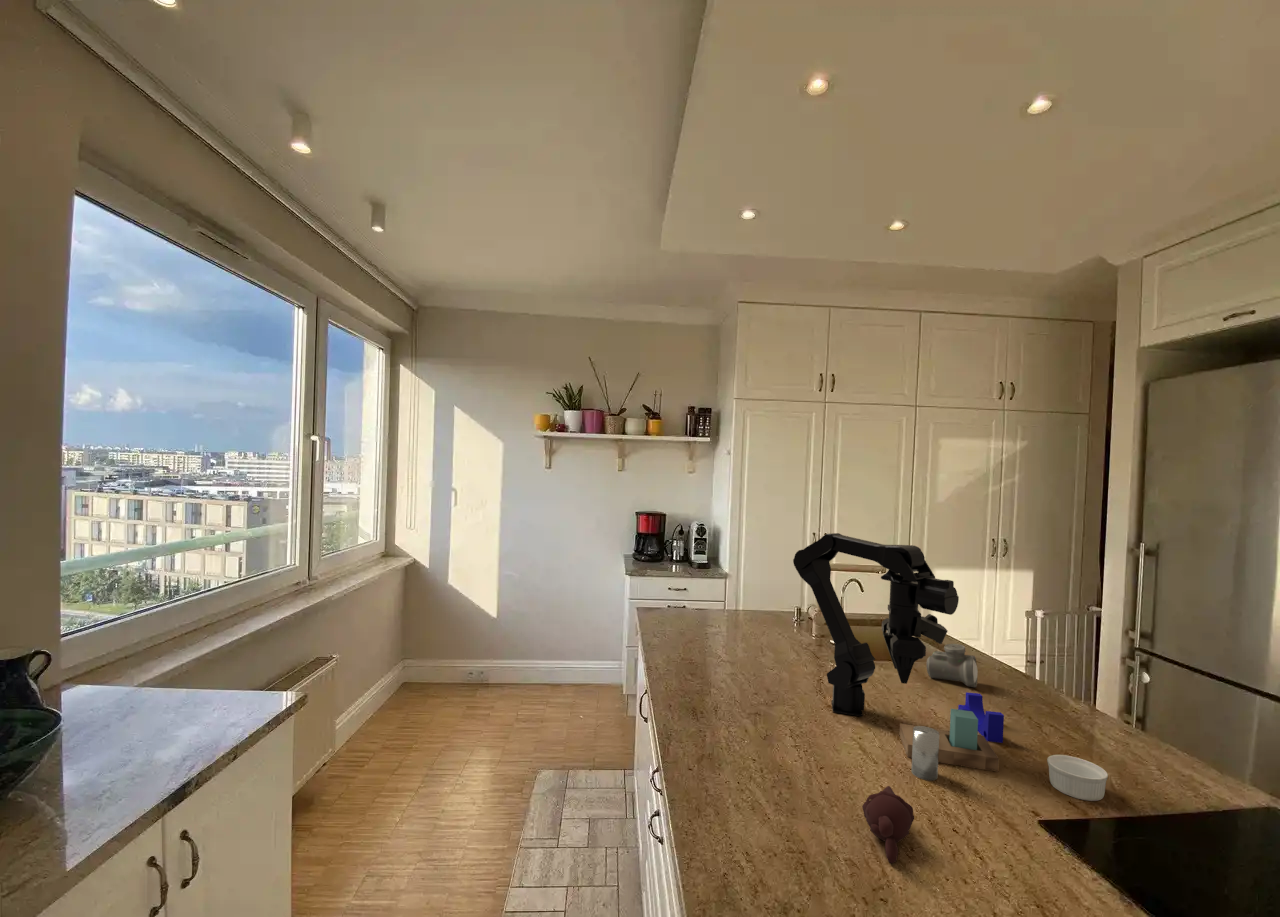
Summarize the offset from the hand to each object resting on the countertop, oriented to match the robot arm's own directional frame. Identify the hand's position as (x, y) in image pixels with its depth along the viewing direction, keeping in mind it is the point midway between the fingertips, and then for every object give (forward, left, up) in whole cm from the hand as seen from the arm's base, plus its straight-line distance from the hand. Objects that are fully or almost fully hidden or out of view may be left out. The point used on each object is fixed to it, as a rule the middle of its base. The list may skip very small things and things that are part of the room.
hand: (900, 675), depth 129 cm
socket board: (+8, -7, -12) cm, 16 cm away
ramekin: (+28, -14, -12) cm, 34 cm away
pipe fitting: (+19, +39, -12) cm, 45 cm away
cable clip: (+18, +8, -12) cm, 23 cm away
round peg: (+2, -18, -12) cm, 22 cm away
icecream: (-7, -41, -12) cm, 43 cm away
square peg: (+11, -7, -12) cm, 18 cm away
